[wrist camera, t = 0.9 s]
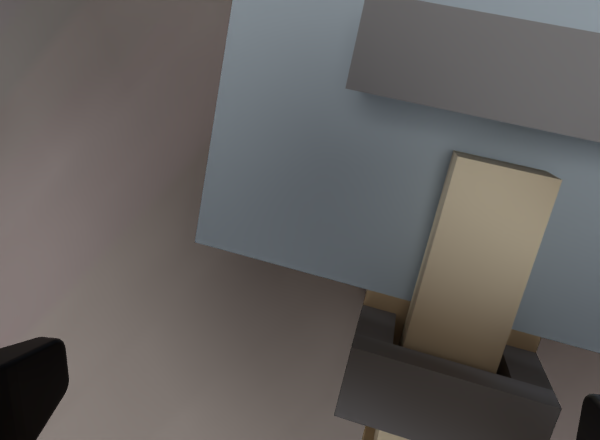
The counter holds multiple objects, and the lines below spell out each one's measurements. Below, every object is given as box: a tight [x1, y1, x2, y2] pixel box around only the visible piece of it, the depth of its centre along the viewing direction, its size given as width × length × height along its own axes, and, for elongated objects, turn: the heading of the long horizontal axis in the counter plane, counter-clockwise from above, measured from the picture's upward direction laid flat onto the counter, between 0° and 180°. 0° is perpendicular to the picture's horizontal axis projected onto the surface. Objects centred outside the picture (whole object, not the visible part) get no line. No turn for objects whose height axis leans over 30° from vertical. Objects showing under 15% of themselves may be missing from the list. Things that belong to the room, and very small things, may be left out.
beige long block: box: [362, 150, 562, 440], centre depth 14 cm, size 11×3×3 cm, turn 168°
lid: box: [195, 0, 600, 353], centre depth 13 cm, size 13×16×5 cm
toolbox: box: [334, 290, 561, 440], centre depth 15 cm, size 16×16×9 cm
